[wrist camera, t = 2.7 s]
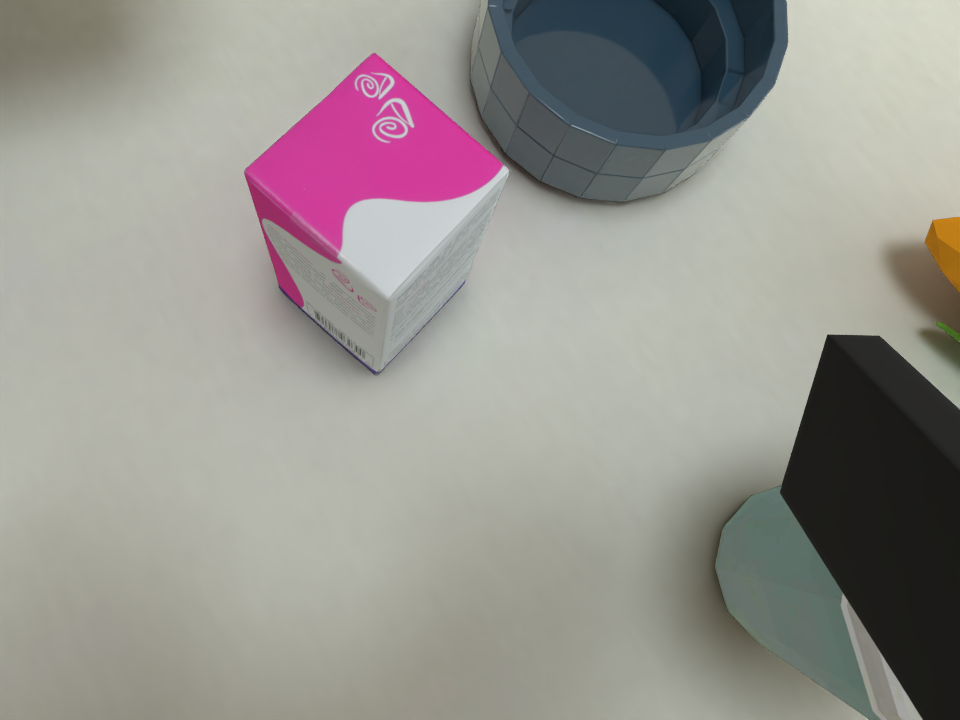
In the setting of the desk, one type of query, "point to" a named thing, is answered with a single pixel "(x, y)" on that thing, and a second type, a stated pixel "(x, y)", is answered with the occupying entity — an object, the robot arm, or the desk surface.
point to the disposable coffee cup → (802, 608)
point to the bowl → (622, 85)
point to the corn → (946, 254)
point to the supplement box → (374, 210)
